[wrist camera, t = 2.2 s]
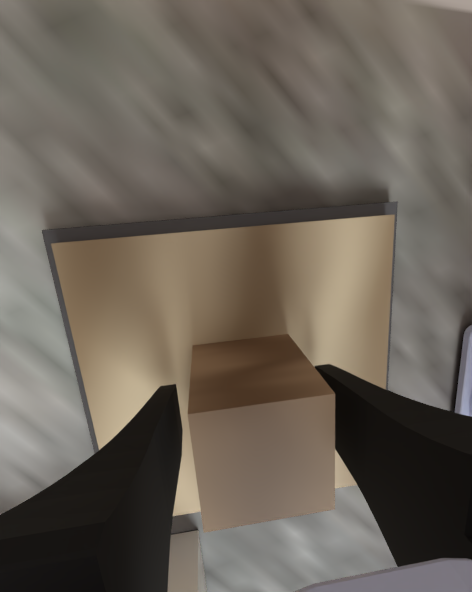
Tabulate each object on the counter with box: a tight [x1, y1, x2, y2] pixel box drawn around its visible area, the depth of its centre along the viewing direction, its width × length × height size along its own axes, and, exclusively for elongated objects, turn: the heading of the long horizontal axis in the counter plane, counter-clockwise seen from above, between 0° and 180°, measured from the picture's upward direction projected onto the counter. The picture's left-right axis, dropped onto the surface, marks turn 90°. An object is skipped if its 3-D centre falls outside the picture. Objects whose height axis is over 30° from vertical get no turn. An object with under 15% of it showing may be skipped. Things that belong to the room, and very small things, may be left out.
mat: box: [42, 202, 398, 453], centre depth 13 cm, size 14×14×1 cm
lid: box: [51, 215, 395, 532], centre depth 11 cm, size 13×13×5 cm
